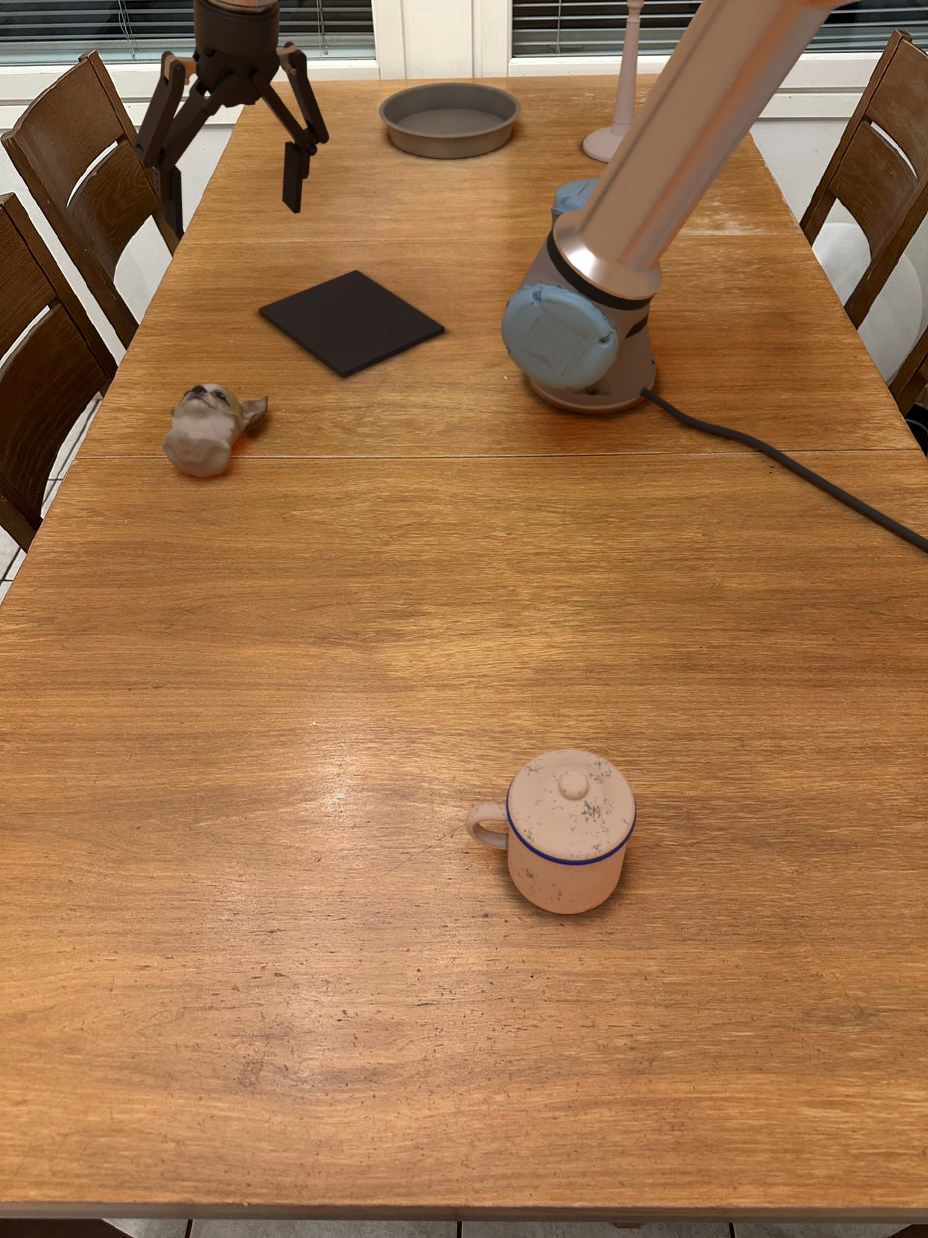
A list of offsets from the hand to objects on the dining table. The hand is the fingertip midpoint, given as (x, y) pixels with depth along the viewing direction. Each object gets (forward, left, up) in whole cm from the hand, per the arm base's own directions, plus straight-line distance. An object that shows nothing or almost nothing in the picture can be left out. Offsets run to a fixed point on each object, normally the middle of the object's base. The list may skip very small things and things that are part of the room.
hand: (234, 216), depth 100 cm
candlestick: (+21, -83, -21) cm, 88 cm away
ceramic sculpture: (-7, +11, -21) cm, 25 cm away
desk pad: (+5, -16, -21) cm, 27 cm away
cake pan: (+45, -65, -21) cm, 82 cm away
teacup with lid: (-69, +17, -21) cm, 74 cm away
